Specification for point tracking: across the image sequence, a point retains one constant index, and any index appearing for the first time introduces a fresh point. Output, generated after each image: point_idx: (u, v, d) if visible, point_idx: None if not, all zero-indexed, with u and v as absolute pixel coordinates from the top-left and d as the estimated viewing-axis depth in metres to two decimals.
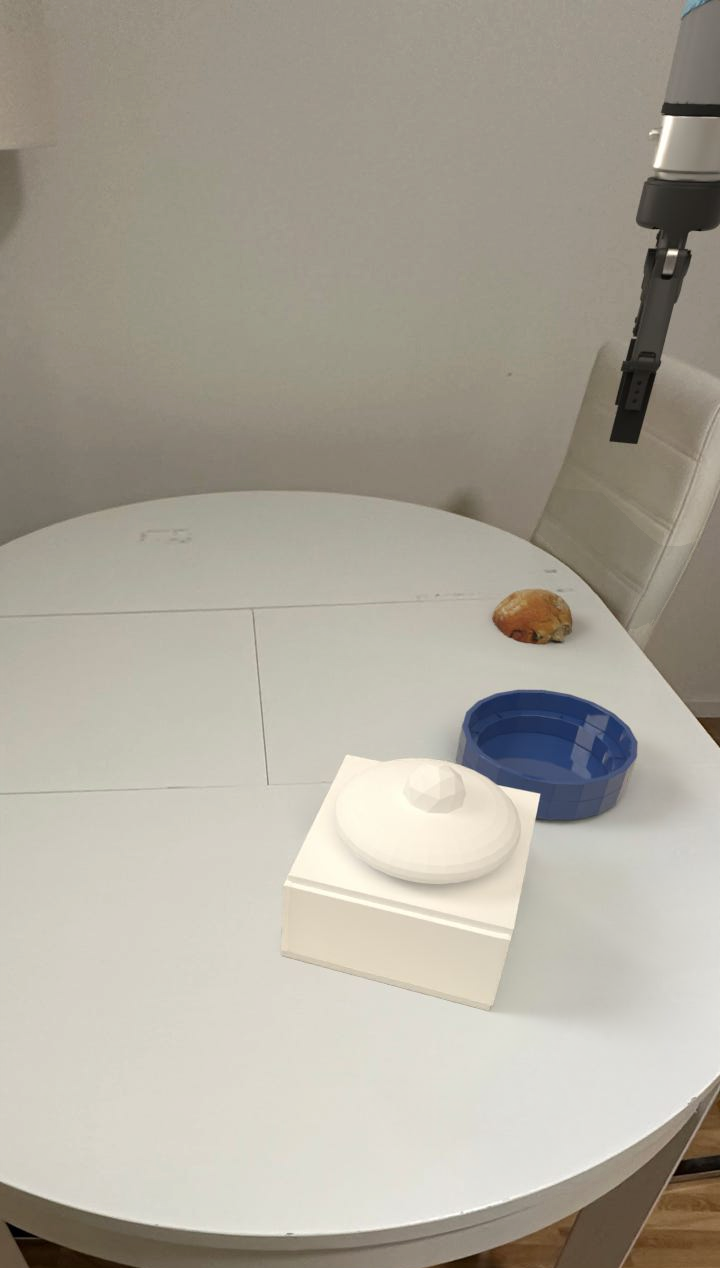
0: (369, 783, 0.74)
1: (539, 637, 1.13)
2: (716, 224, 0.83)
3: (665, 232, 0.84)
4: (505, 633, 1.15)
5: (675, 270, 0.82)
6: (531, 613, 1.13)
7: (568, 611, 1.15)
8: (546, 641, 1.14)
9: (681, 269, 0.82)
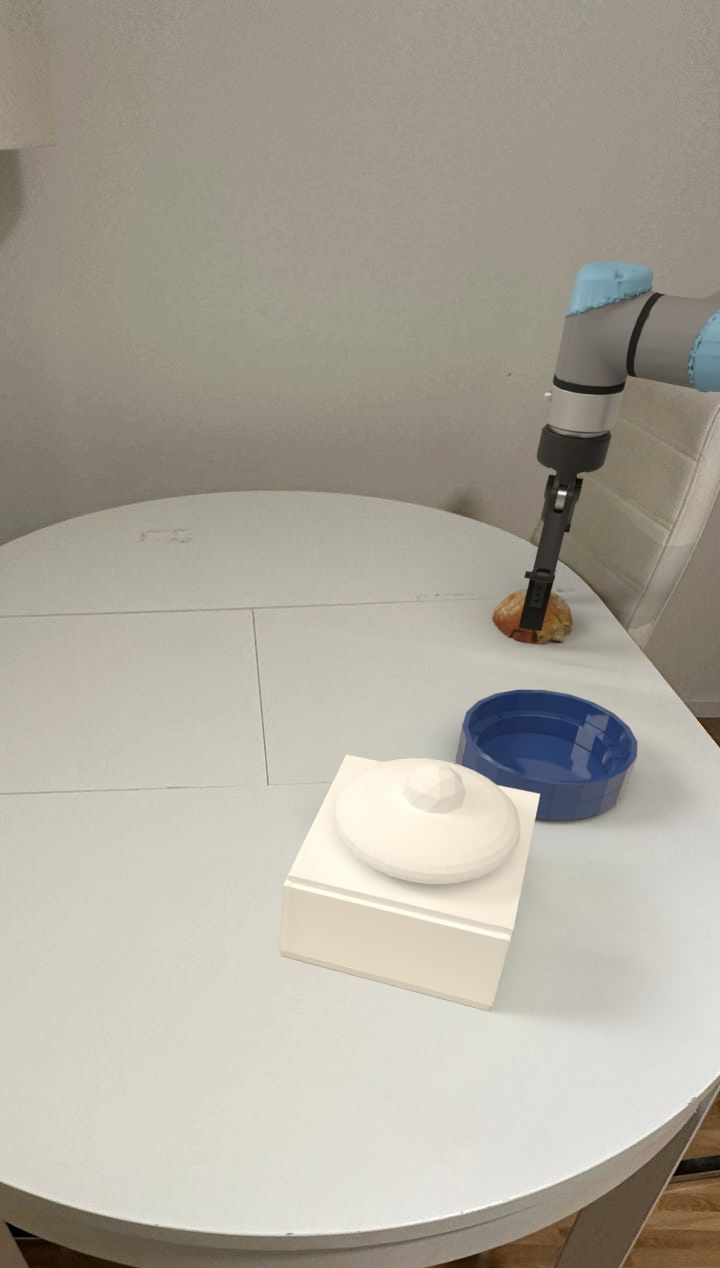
0: (369, 783, 0.74)
1: (539, 637, 1.13)
2: (599, 467, 1.02)
3: (558, 473, 1.02)
4: (505, 633, 1.15)
5: (564, 507, 1.01)
6: None
7: (568, 611, 1.15)
8: (546, 641, 1.14)
9: (569, 506, 1.01)
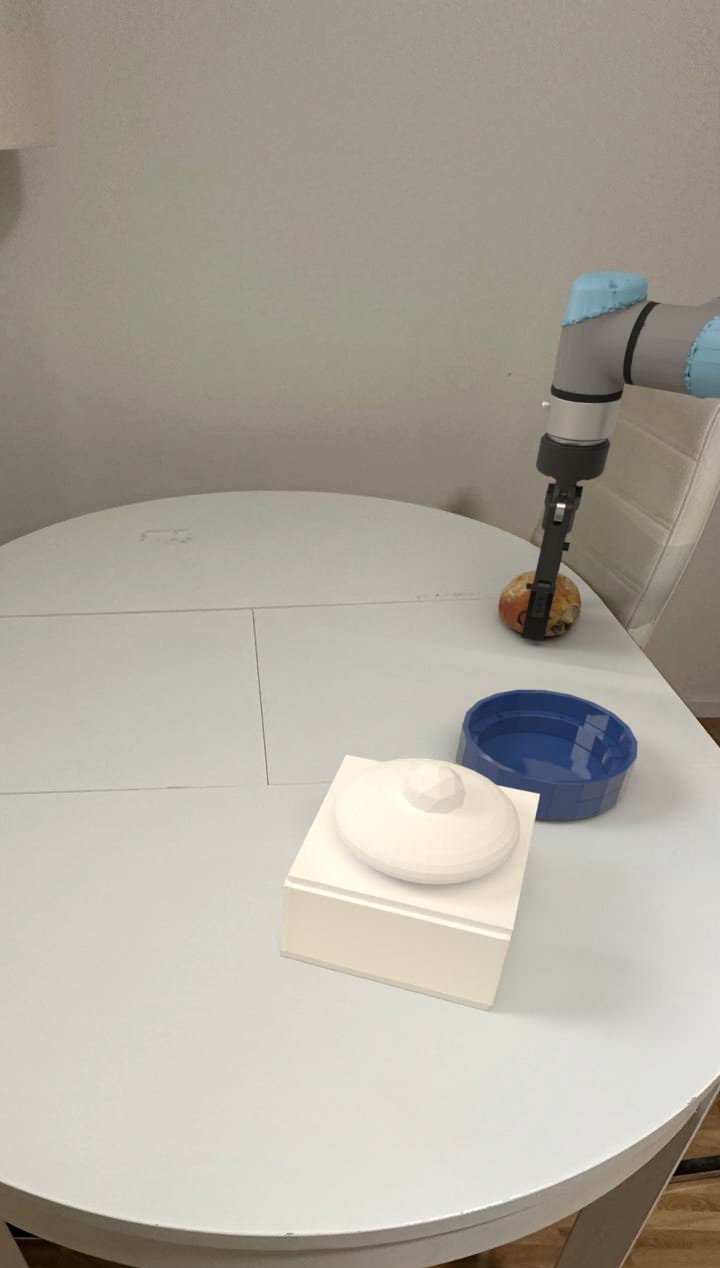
0: (368, 784, 0.74)
1: None
2: (599, 474, 1.02)
3: (557, 481, 1.02)
4: (512, 615, 1.14)
5: (563, 519, 1.02)
6: None
7: (576, 592, 1.13)
8: (554, 622, 1.12)
9: (568, 519, 1.01)
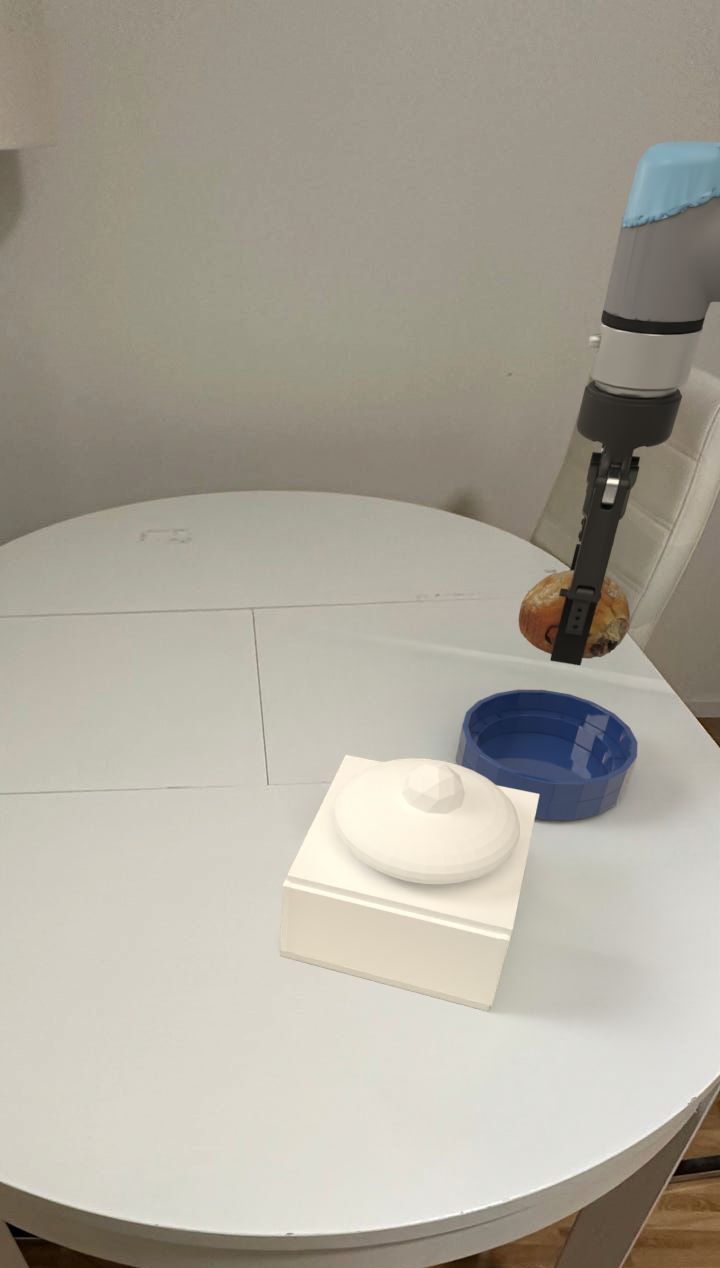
0: (368, 783, 0.74)
1: None
2: (665, 439, 0.74)
3: (607, 448, 0.74)
4: (538, 630, 0.85)
5: (616, 501, 0.73)
6: None
7: (624, 600, 0.85)
8: (595, 641, 0.83)
9: (622, 501, 0.73)
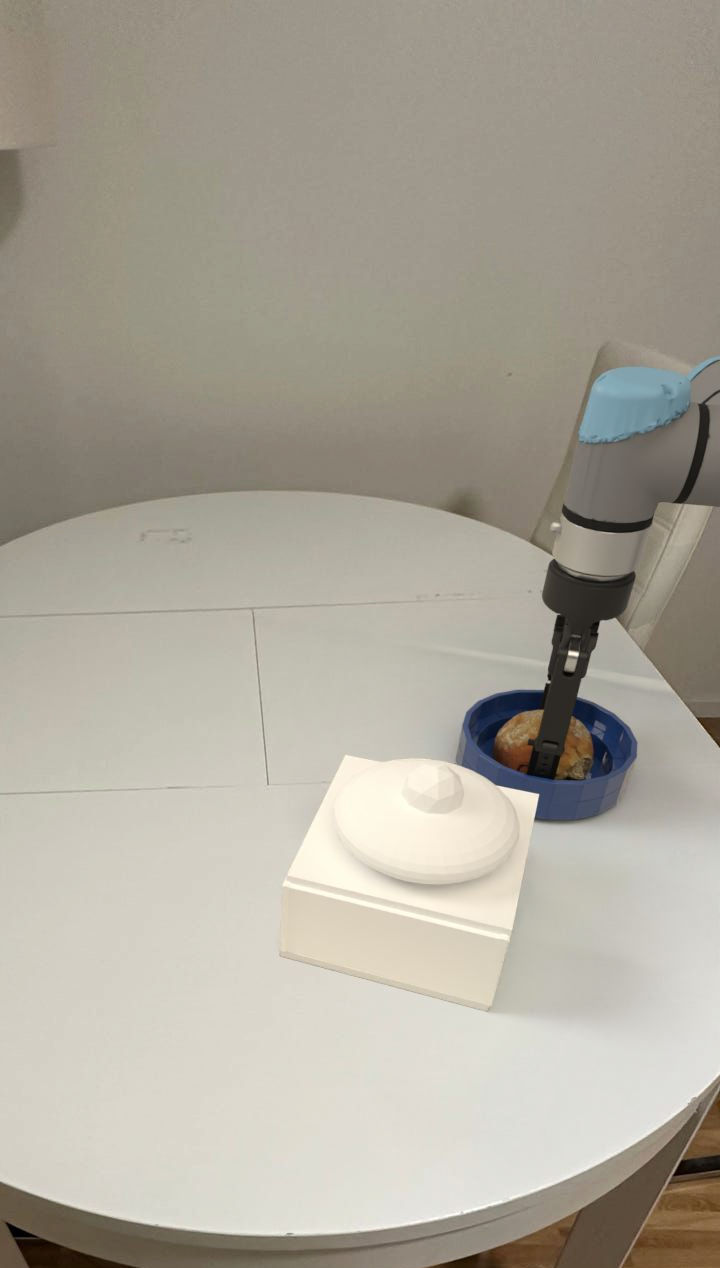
0: (368, 784, 0.74)
1: None
2: (621, 613, 0.81)
3: (569, 621, 0.82)
4: (510, 767, 0.93)
5: (576, 670, 0.81)
6: None
7: (589, 740, 0.92)
8: (561, 779, 0.91)
9: (582, 670, 0.81)
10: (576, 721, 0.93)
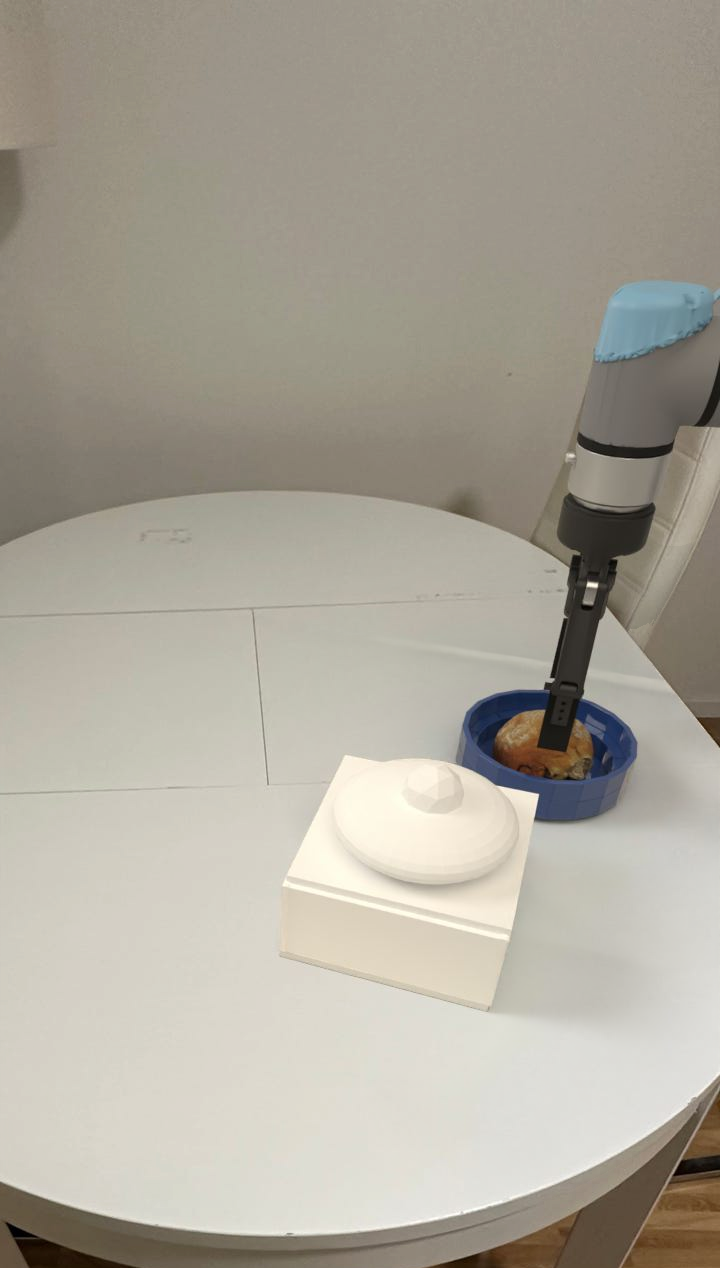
0: (367, 784, 0.74)
1: (552, 775, 0.90)
2: (640, 548, 0.78)
3: (585, 557, 0.78)
4: (510, 767, 0.93)
5: (595, 603, 0.76)
6: None
7: (589, 740, 0.92)
8: None
9: (602, 602, 0.76)
10: (576, 721, 0.93)
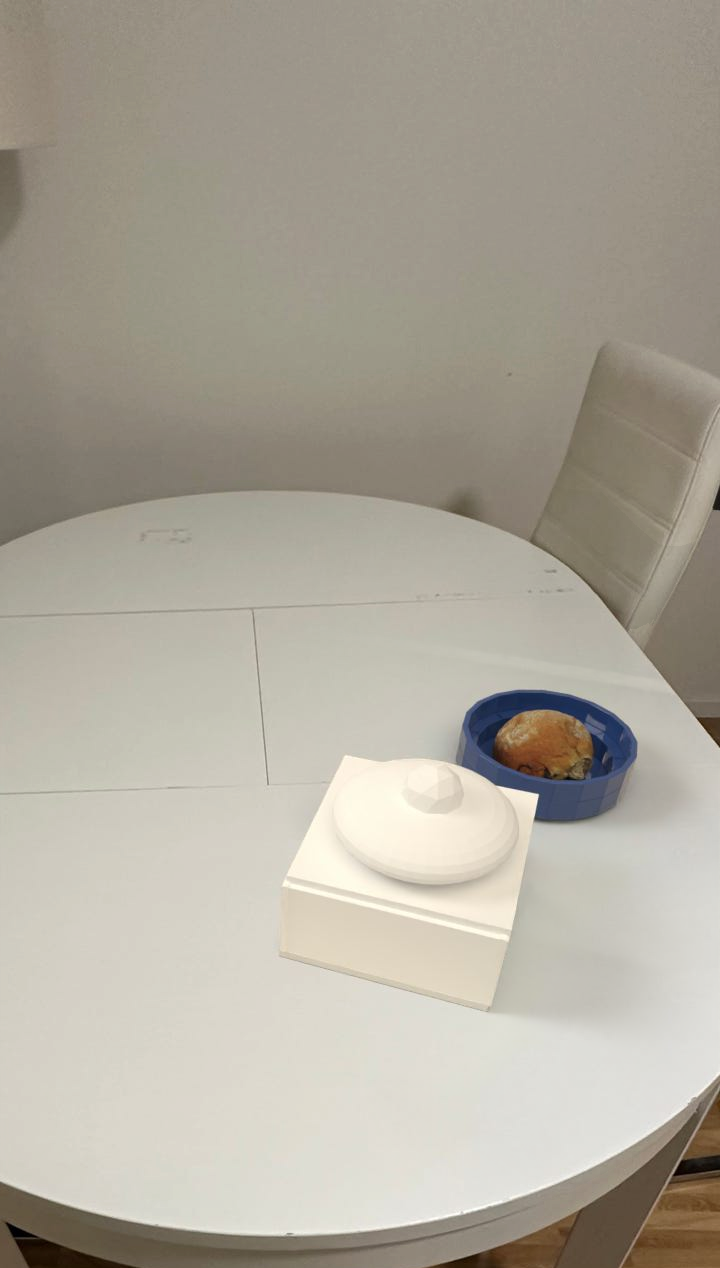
0: (367, 784, 0.74)
1: (552, 775, 0.90)
2: None
3: None
4: (510, 767, 0.93)
5: None
6: (542, 745, 0.91)
7: (589, 740, 0.92)
8: None
9: None
10: (576, 721, 0.93)
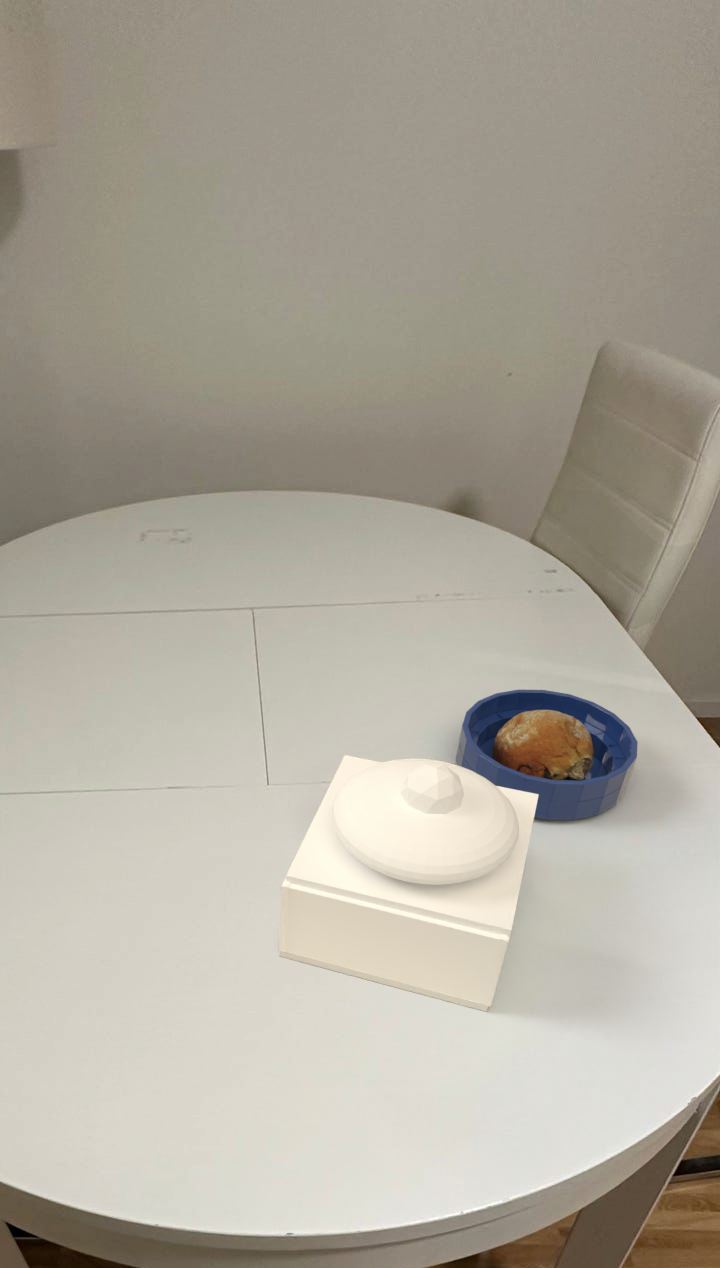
0: (367, 784, 0.74)
1: (552, 775, 0.90)
2: None
3: None
4: (510, 767, 0.93)
5: None
6: (542, 745, 0.91)
7: (589, 740, 0.92)
8: None
9: None
10: (576, 721, 0.93)
